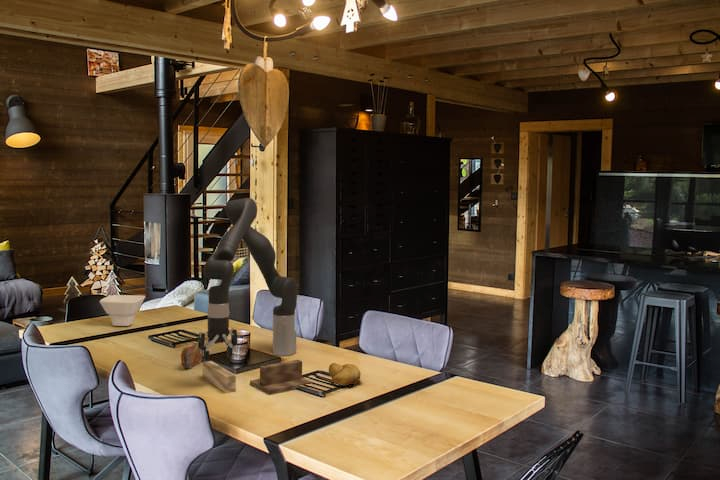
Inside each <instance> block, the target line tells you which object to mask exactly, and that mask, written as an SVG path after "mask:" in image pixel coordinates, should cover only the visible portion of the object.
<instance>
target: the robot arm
mask: <svg viewBox="0 0 720 480" xmlns="http://www.w3.org/2000/svg"><path fill="white" fill-rule="evenodd" d="M225 213H226V214H225V215H226V216H227V218H228V221H229V222H230V224H231V225H232V226H231V227H230V229H228V230H227V231H226V232H225V233H224V234H223V236H222V237H221V239H220V240H219V243H218V246H217V247H216V249H215V251H214V252H213V253H212V254H211V255H210V256H209V257H208V259H207V260H206V262H205V264H204V265H203V275H204V276H205V278H206V279H208V280H217V281H219V280H221V281H220V284H217V285H213V286H210V287H209V288H208V306H207V331H206V332H201V331H200V332H199V334H198V342H197V343H198V348H199V349H201V350H203V359H204V360H205V361H204V362H207V361H210V349H211V347H213V345H214V344H215V345H216V344H223V343H224V344H225V346H226V358H228V359H231V358H232V357H233V348H234V347H236V346H237V345H238V331H237V329H236V328H231V329H229V327H230V306H229V298H230V297H229V292H230V287H231V283H232V280H233V279H232V278H233V276H234V273H235V267H234V264H233V262H232V261H234V260H235V257H236V254H237V252H238V248H239V246H240V244H241V242H242V241H243V242H244V244H245V245H246V248H247V249H248V252H249V253H250V255H251V257H252V259H253V260H254V262H255V263H256V265H257V268H258V269H259V271H260V273H261V275H262V276H263V280H264V281H265V283H266V286H267V288H268V291H269V292H270V294H271V296H273V297H275V298H279V299H281V303H280V305H276V306H274V307H273V309H272V312H273V313H272V355H274V356H280V357H283V356H284V357H286V356H287V357H288V356H292V355H294V354H297V331H296V330H295V327H296V326H295V325H296V324H295V319H296V318H295V315H296V308H297V304H298V303H297V302H298V300H297V299H298V283H297V280H296V279H295V278H294V277H289V276H288V277H287V276H282V275H280V274H279V272H278V271H277V269H276V267H275V266H276V265H275V264H276V263H275V262H276V257H277V255H276V251H275V249H274V247H273V245H272V243H271V241H270V240H269V239H268V237H266V236H265V235H264V234H263V233H262V232H259V231H258V230H256V229H255V228H253V227H252V224H253V223H254V221H255V219H256V217H257V215H258V206H257V203H256V201H255V200H254V199H253V198H251V197H246V198H245V197H244V198H239V199H238V198H237V199H234V200H229V201H227V203H226V205H225ZM229 335H230V339H231V340H230V339H229ZM206 339H207V340H206Z"/></svg>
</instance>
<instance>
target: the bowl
mask: <svg viewBox="0 0 720 480" xmlns="http://www.w3.org/2000/svg"><path fill="white" fill-rule="evenodd" d="M145 298H146V296H145V295H138V294H137V295H135V294H131V295H130V294H126V295H125V294H112V295H108V296H105V297H103V298H102V299H100V300H99V304H100V305H101V306H102V307H101V308H103V310H104V311H105V313H106V314H107V315H109V318H110V321H111V324H112V326H115V327H128V326H131V325H133V324H134V320H135V317H136V313H137V312H139V309H140V308H141V305H142V304H143V302H144V300H145Z"/></svg>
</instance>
